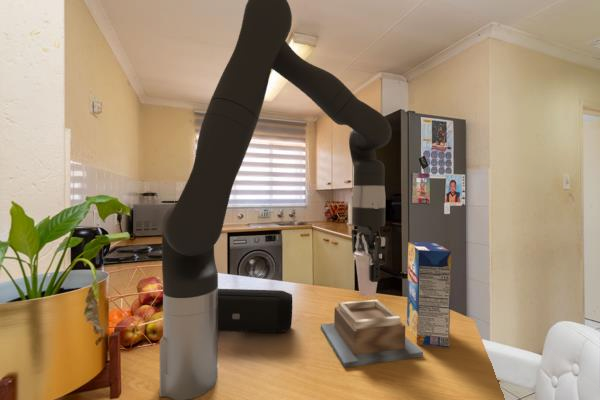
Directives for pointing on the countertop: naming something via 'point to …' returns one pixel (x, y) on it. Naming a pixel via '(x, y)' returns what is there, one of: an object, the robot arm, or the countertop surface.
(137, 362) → the countertop surface
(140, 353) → the countertop surface
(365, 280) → the smoothie
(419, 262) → the beverage box
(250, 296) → the portable speaker
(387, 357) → the pedestal base
